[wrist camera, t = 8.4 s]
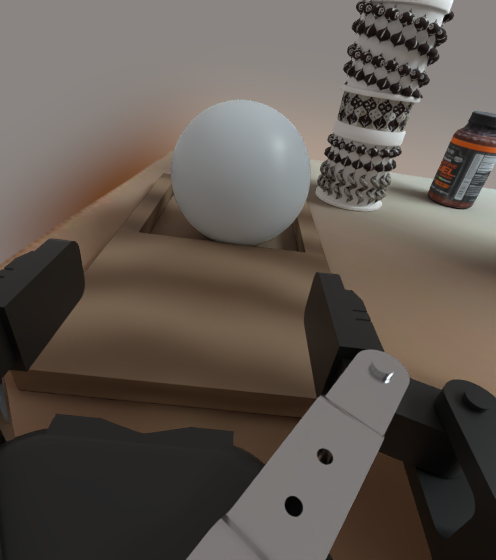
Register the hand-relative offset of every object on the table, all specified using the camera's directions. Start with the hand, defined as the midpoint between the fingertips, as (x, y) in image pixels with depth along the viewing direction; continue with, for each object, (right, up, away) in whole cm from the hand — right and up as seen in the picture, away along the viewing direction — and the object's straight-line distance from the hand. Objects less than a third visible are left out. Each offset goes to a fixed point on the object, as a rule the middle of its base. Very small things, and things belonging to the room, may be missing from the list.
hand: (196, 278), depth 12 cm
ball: (+1, +8, +15) cm, 17 cm away
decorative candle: (+15, +10, +32) cm, 36 cm away
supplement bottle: (+30, +11, +36) cm, 48 cm away
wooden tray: (0, +2, +16) cm, 16 cm away
